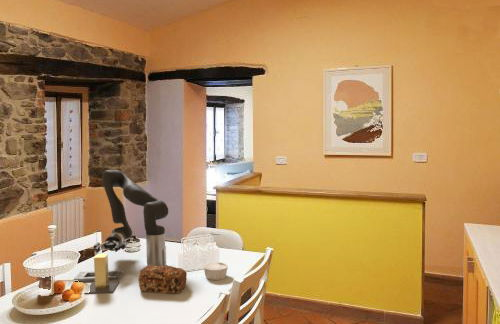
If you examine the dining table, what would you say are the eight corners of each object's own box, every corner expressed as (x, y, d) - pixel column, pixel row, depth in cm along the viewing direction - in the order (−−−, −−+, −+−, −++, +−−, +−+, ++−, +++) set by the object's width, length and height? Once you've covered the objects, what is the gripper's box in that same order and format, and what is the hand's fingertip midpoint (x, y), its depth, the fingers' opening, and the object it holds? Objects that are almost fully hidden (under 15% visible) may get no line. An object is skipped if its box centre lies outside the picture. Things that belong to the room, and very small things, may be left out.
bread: (138, 292, 186) (137, 269, 185) (148, 283, 196) (147, 261, 195) (179, 295, 183) (179, 272, 182) (187, 285, 193) (187, 263, 192)
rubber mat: (119, 282, 197) (119, 281, 197) (112, 292, 185) (112, 291, 185) (92, 283, 196) (92, 282, 196) (84, 293, 184) (84, 292, 184)
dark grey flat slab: (122, 273, 208) (122, 270, 208) (118, 280, 200) (118, 277, 199) (80, 275, 207) (79, 272, 207) (73, 282, 198) (73, 278, 198)
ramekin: (232, 276, 204) (232, 265, 203) (215, 283, 195) (214, 271, 195) (216, 271, 211) (216, 260, 211) (199, 277, 203) (198, 266, 202)
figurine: (49, 297, 181) (47, 269, 180) (34, 296, 182) (32, 268, 181) (60, 290, 188) (58, 264, 187) (45, 289, 189) (44, 263, 188)
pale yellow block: (108, 284, 193) (107, 254, 192) (106, 288, 189) (104, 257, 187) (98, 284, 193) (96, 254, 191) (95, 288, 188) (93, 257, 187)
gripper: (99, 234, 216) (90, 243, 200) (128, 233, 217) (121, 241, 201) (100, 249, 217) (91, 258, 201) (129, 247, 218) (122, 257, 202)
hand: (106, 250), depth 201 cm, fingers open, 8 cm apart
